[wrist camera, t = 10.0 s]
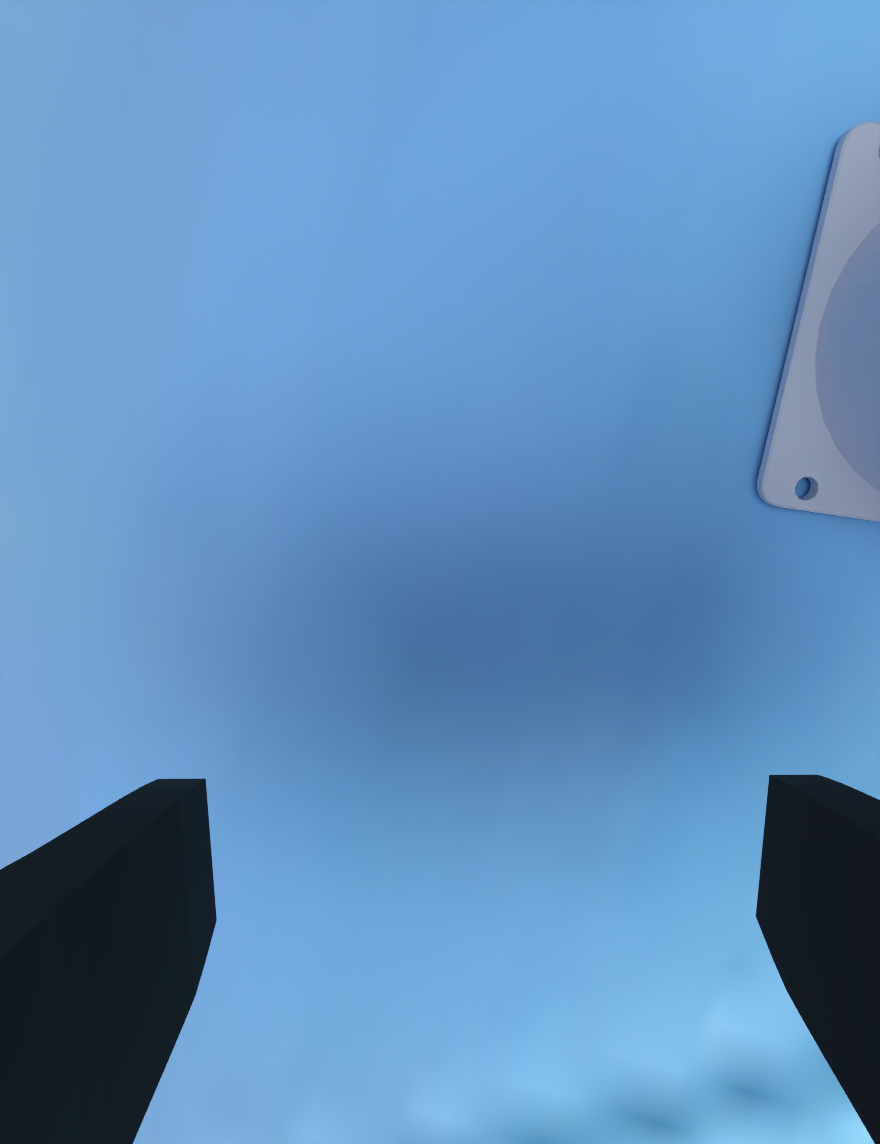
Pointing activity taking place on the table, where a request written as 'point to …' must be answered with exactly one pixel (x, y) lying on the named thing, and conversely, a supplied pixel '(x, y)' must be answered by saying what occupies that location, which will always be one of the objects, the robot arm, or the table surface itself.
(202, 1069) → the table surface
